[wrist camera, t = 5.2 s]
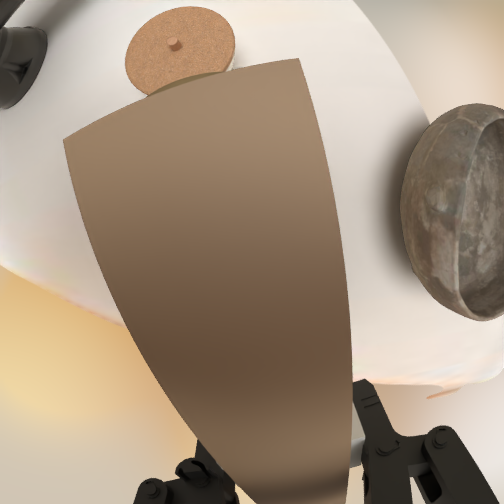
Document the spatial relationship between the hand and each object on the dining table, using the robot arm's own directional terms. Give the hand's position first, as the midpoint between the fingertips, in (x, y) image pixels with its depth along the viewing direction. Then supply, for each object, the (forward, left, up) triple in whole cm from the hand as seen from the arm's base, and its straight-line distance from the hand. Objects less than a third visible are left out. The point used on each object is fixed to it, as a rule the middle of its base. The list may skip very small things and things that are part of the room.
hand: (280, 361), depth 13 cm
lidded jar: (-23, -3, -21) cm, 31 cm away
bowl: (-1, +26, -21) cm, 33 cm away
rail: (0, 0, +2) cm, 2 cm away
